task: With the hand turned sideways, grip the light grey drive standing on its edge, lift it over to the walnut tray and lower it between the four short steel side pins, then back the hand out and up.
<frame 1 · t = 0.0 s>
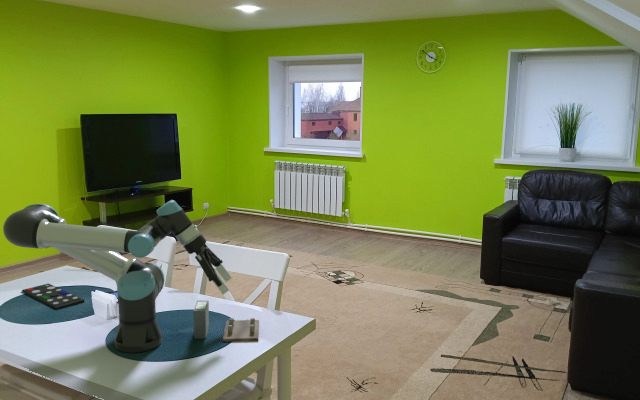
hand: (227, 285, 199), 15 cm above the table, tool tilted 35°, fingers open, 13 cm apart
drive: (201, 332, 196), on the table
handheld game console: (118, 298, 229), on the table
remote control: (52, 298, 227), on the table
pin tray: (241, 331, 197), on the table
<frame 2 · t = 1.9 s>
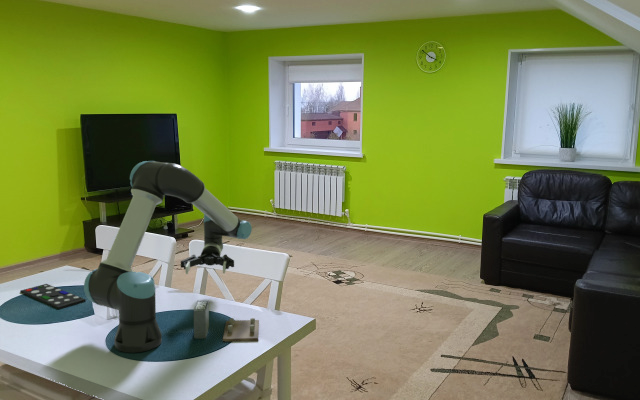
hand: (205, 270, 205), 19 cm above the table, tool horizontal, fingers open, 13 cm apart
nothing on the table moved.
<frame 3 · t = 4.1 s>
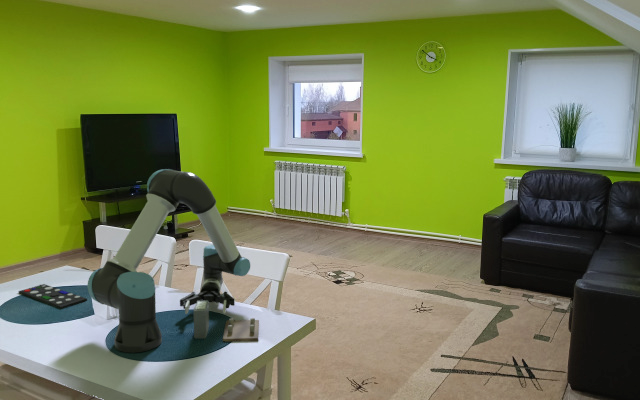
hand: (205, 310, 201), 6 cm above the table, tool horizontal, fingers open, 13 cm apart
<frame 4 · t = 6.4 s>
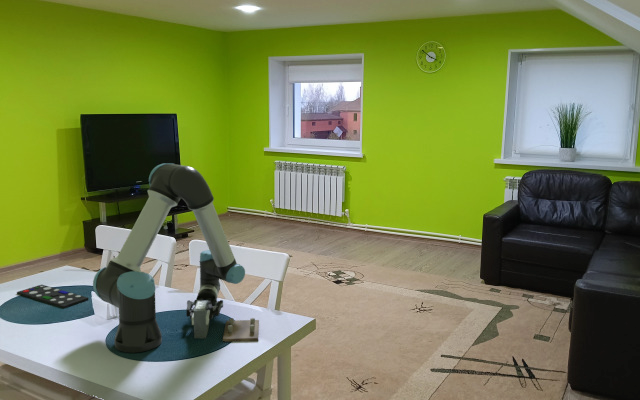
hand: (199, 320, 190), 6 cm above the table, tool horizontal, fingers closed on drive, 4 cm apart
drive: (201, 332, 196), on the table, touching gripper
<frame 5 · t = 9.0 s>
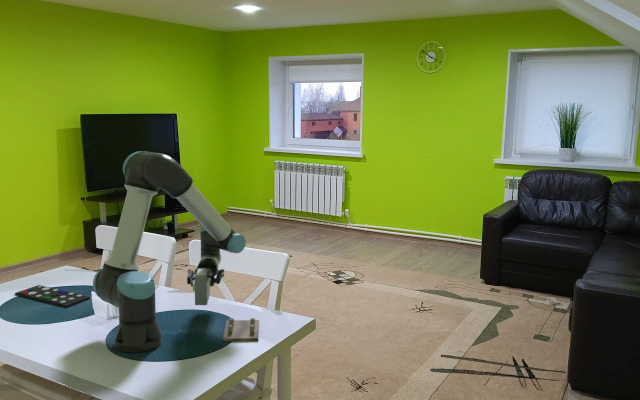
hand: (200, 287, 188), 18 cm above the table, tool horizontal, fingers closed on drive, 4 cm apart
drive: (202, 300, 194), point 12 cm above the table, touching gripper
when the fingers open (9 cm above the table, at t = 11.7 s): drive drops 2 cm, resting on pin tray.
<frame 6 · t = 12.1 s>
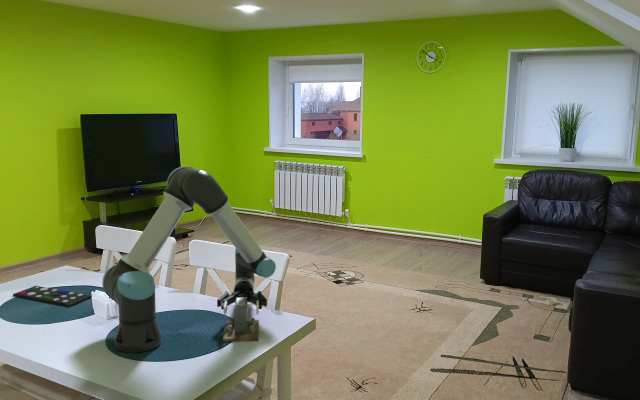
hand: (241, 310, 192), 9 cm above the table, tool horizontal, fingers open, 10 cm apart
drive: (241, 328, 197), point 1 cm above the table, touching pin tray
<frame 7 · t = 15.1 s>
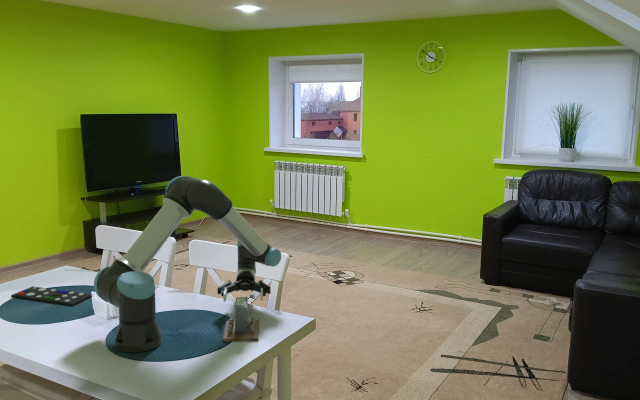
hand: (243, 297, 205), 9 cm above the table, tool horizontal, fingers open, 13 cm apart
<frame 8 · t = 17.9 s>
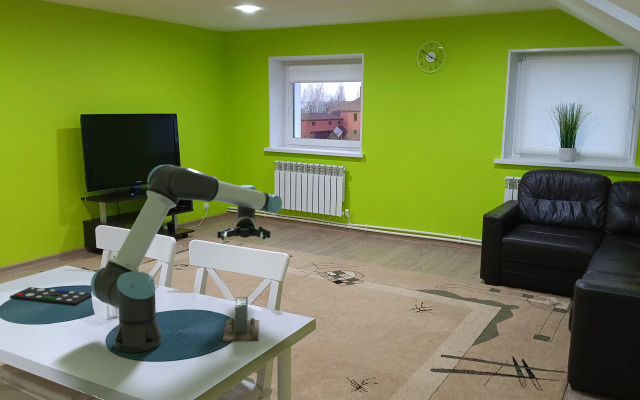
hand: (243, 239, 206), 30 cm above the table, tool horizontal, fingers open, 13 cm apart
at the end: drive 0.1 cm off-centre on the pin tray, point 1.0 cm above the pin tray's base; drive tilted 0°; the gripper is holding nothing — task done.
